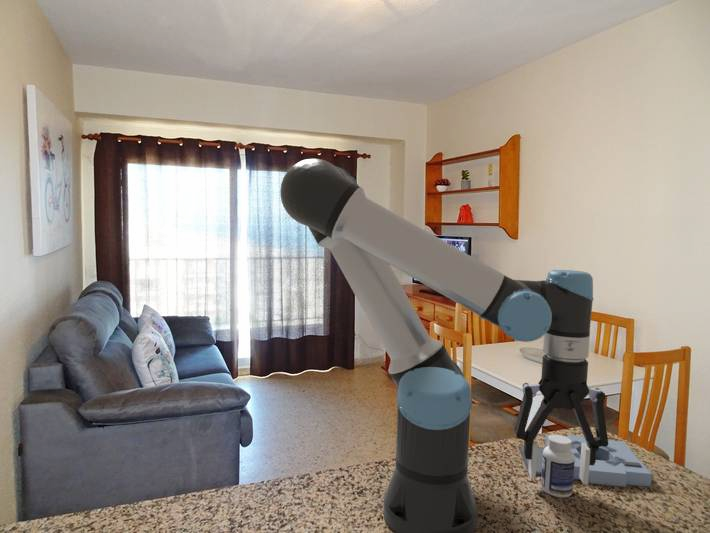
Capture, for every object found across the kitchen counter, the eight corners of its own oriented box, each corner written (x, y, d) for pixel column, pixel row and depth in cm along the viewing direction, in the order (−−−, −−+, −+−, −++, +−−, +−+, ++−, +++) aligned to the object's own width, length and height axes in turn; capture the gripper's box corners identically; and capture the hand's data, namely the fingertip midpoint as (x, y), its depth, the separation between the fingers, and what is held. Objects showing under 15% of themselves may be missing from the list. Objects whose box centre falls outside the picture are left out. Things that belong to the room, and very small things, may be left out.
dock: (562, 480, 93) (563, 466, 93) (544, 443, 109) (544, 431, 109) (653, 489, 91) (654, 475, 90) (621, 450, 106) (621, 438, 106)
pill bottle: (579, 493, 89) (582, 441, 88) (559, 501, 86) (563, 448, 85) (553, 480, 93) (556, 430, 92) (534, 487, 91) (537, 436, 90)
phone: (560, 480, 94) (561, 475, 94) (528, 477, 95) (528, 471, 95) (546, 452, 106) (547, 447, 106) (518, 449, 107) (518, 444, 107)
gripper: (507, 358, 85) (500, 482, 87) (637, 366, 82) (627, 495, 84) (501, 347, 93) (495, 462, 95) (620, 355, 89) (611, 474, 91)
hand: (557, 478), depth 89 cm, fingers open, 8 cm apart
